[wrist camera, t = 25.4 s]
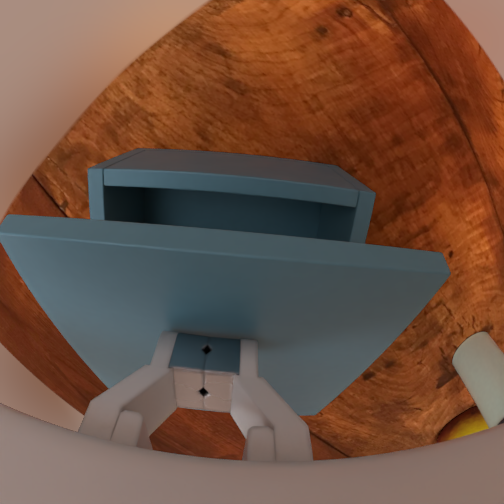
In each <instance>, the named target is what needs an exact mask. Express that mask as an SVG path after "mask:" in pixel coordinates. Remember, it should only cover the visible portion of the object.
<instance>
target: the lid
mask: <svg viewBox="0 0 504 504" xmlns="http://www.w3.org/2000/svg"><path fill="white" fill-rule="evenodd" d="M0 242H1V244H2V245H3V247H4V249H5V251H6V252H7V254H8V256H9V257H10V259H11V261H12V263H13V264H14V266H15V267H16V269H17V271H18V272H19V274H20V276H21V277H22V279H23V280H24V282H25V283H26V285H27V286H28V288H29V289H30V291H31V292H32V294H33V295H34V297H35V298H36V300H37V301H38V303H39V304H40V305H41V307H42V308H43V310H44V311H45V312H46V314H47V315H48V317H49V318H50V319H51V321H52V322H53V323H54V325H55V326H56V327H57V329H58V330H59V331H60V332H61V334H62V335H63V336H64V338H65V339H66V340H67V341H68V343H69V344H70V345H71V346H72V347H73V349H74V350H75V351H76V352H77V353H78V355H79V356H80V357H81V358H82V359H83V361H84V362H85V363H86V364H87V365H88V366H89V367H90V369H91V370H92V371H93V372H94V373H95V374H96V375H97V376H98V377H99V379H100V380H101V381H102V382H103V383H104V384H105V385H106V386H107V387H108V388H109V389H110V388H111V387H113V386H114V385H116V384H117V383H119V382H120V381H122V380H123V379H125V378H126V377H128V376H129V375H131V374H132V373H134V372H135V371H137V370H138V369H140V368H141V367H143V366H144V365H150V363H151V360H152V357H153V354H154V352H155V349H156V346H157V343H158V340H159V337H160V334H161V333H162V331H163V330H164V331H171V332H177V333H186V334H194V335H202V336H209V337H221V338H233V339H240V340H241V339H253V340H257V342H258V377H264V379H265V380H266V381H267V382H268V383H269V384H270V385H271V386H272V387H273V389H274V390H275V391H276V392H277V393H278V394H279V395H280V396H281V397H282V398H283V400H284V401H285V402H286V403H287V404H288V405H289V406H290V407H291V408H292V409H293V410H294V411H295V413H296V414H297V415H316V414H317V413H318V412H319V411H321V410H322V409H323V408H324V407H325V406H327V405H328V404H329V403H330V402H331V401H332V400H333V399H335V398H336V397H337V396H338V395H339V394H340V393H341V392H342V391H344V390H345V389H346V388H347V387H348V386H349V385H350V384H351V383H352V382H353V381H354V380H355V379H357V378H358V377H359V376H360V375H361V374H362V373H363V372H364V371H365V370H366V369H367V368H368V367H369V366H370V365H371V364H372V363H373V362H374V361H375V360H376V359H377V358H378V357H379V356H380V355H381V354H382V353H383V352H384V351H385V350H386V349H387V348H388V347H389V346H390V345H391V344H392V343H393V342H394V340H395V339H396V338H397V337H398V336H399V335H400V334H401V333H402V332H403V331H404V330H405V329H406V327H407V326H408V325H409V324H410V323H411V322H412V321H413V320H414V318H415V317H416V316H417V315H418V314H419V313H420V312H421V310H422V309H423V308H424V307H425V306H426V304H427V303H428V302H429V301H430V300H431V298H432V297H433V296H434V295H435V294H436V292H437V291H438V290H439V289H440V287H441V286H442V285H443V284H444V282H445V281H446V280H447V278H448V277H449V276H450V274H451V272H450V270H449V267H448V265H447V263H446V260H445V258H444V256H443V254H442V253H441V252H432V251H424V250H416V249H407V248H398V247H389V246H381V245H372V244H362V243H353V242H344V241H334V240H325V239H315V238H305V237H295V236H285V235H274V234H264V233H253V232H242V231H231V230H220V229H208V228H197V227H185V226H173V225H160V224H147V223H134V222H121V221H107V220H93V219H78V218H62V217H46V216H29V215H11V214H9V215H7V216H6V218H5V219H4V221H3V222H2V224H1V225H0ZM189 409H191V408H189ZM197 410H202V409H197ZM203 410H204V409H203ZM206 411H210V410H206ZM216 412H219V411H216Z"/></svg>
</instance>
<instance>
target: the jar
mask: <svg viewBox="0 0 504 504" xmlns="http://www.w3.org/2000/svg"><path fill="white" fill-rule="evenodd" d="M452 364H453V367H454V368H455V370H456V371H457V373H458V375H459V376H460V378H461V380H462V381H463V383H464V385H465V386H466V388H467V390H468V392H469V393H470V395H471V397H472V399H473V400H474V402H475V404H476V406H477V407H478V409H479V411H480V413H481V415H482V416H483V418H484V420H485V422H486V424H487V426H488V428H491V427H494V426H497V425H500V424H502V423H504V353H503V352H502V350H501V349H500V348H499V346H498V345H497V344H496V343H495V341H494V340H493V339H492V337H491V336H490V335H489V334H488V333H487V332H478V333H476V334H474V335H472V336H470V337H469V338H468V339H466V340H465V341H464V342H463V343H462V344H461V345H460V346H459V348H458V349H457V350H456V352H455V354H454V356H453V360H452Z"/></svg>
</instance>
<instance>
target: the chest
mask: <svg viewBox="0 0 504 504" xmlns="http://www.w3.org/2000/svg"><path fill="white" fill-rule="evenodd" d="M88 189H89V207H90V219H93V220H107V221H121V222H134V223H147V224H160V225H173V226H185V227H197V228H208V229H220V230H231V231H242V232H253V233H264V234H274V235H285V236H295V237H305V238H315V239H325V240H334V241H344V242H353V243H362V244H365V240H366V236H367V232H368V228H369V224H370V219H371V215H372V210H373V206H374V201H375V196H376V193H375V192H373V191H372V190H371V189H369V188H368V187H367V186H365V185H364V184H362V183H361V182H360V181H358V180H357V179H355V178H354V177H352V176H351V175H350V174H348V173H347V172H345V171H344V170H342V169H341V168H340V167H338V166H336V165H330V164H323V163H316V162H309V161H302V160H294V159H286V158H277V157H268V156H259V155H249V154H238V153H226V152H212V151H197V150H177V149H148V148H137V149H134V150H132V151H129V152H127V153H124V154H122V155H119V156H117V157H114V158H112V159H109V160H107V161H104V162H102V163H100V164H97V165H95V166H93V167H90V168H88Z"/></svg>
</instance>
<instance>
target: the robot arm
mask: <svg viewBox="0 0 504 504" xmlns="http://www.w3.org/2000/svg"><path fill="white" fill-rule="evenodd" d="M177 407H181V408H191V409H202V410H203V409H204V410H210V411H219V412H228V413H230V414H231V416H232V417H233V419H234V421H235V422H236V424H237V425H238V427H239V429H240V430H241V432H242V433H243V435H244V436H245V438H246V443H245V448H244V453H243V458H242V461H241V460H225V459H214V458H203V457H195V456H187V455H179V454H173V453H166V452H160V451H155V450H153V449H152V446H151V442H150V439H149V436H150V435H151V434H152V433H153V432H154V431H155V430H156V429H157V428H158V427H159V426H160V425H161V424H162V423H163V422H164V421H165V420H166V419H167V418H168V417H169V416H170V415H171V414H172V413H173V412H174V411H175V410H176V409H177ZM0 504H504V423H502V424H500V425H497V426H494V427H491V428H488V429H485V430H482V431H479V432H476V433H473V434H469V435H466V436H462V437H459V438H455V439H452V440H448V441H444V442H440V443H436V444H431V445H427V446H423V447H418V448H413V449H408V450H402V451H397V452H391V453H385V454H378V455H371V456H363V457H354V458H344V459H332V460H316V461H313V455H312V448H311V441H310V434H309V428H308V425H307V424H306V423H305V422H304V421H303V420H302V419H301V418H300V417H299V416H298V415H297V414H296V413H295V411H294V410H293V409H292V408H291V407H290V406H289V405H288V404H287V403H286V402H285V401H284V400H283V398H282V397H281V396H280V395H279V394H278V393H277V392H276V391H275V390H274V389H273V387H272V386H271V385H270V384H269V383H268V382H267V381H266V380H265V379H264V377H258V342H257V340H253V339H241V340H240V339H233V338H221V337H209V336H202V335H194V334H186V333H177V332H171V331H164V330H163V331H162V333H161V334H160V337H159V340H158V343H157V346H156V349H155V352H154V354H153V357H152V360H151V363H150V365H144V366H143V367H141V368H140V369H138V370H137V371H135V372H134V373H132V374H131V375H129V376H128V377H126V378H125V379H123V380H122V381H120V382H119V383H117V384H116V385H114V386H113V387H111V388H110V389H108V390H107V391H105V392H104V393H102V394H100V395H99V396H97V397H96V398H94V399H93V400H91V402H90V404H89V407H88V409H87V411H86V414H85V416H84V418H83V421H82V423H81V426H80V428H79V430H78V432H76V431H73V430H69V429H66V428H63V427H60V426H57V425H54V424H51V423H48V422H46V421H43V420H40V419H38V418H35V417H33V416H30V415H27V414H25V413H22V412H20V411H18V410H15V409H13V408H11V407H8V406H6V405H4V404H2V403H0Z"/></svg>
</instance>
